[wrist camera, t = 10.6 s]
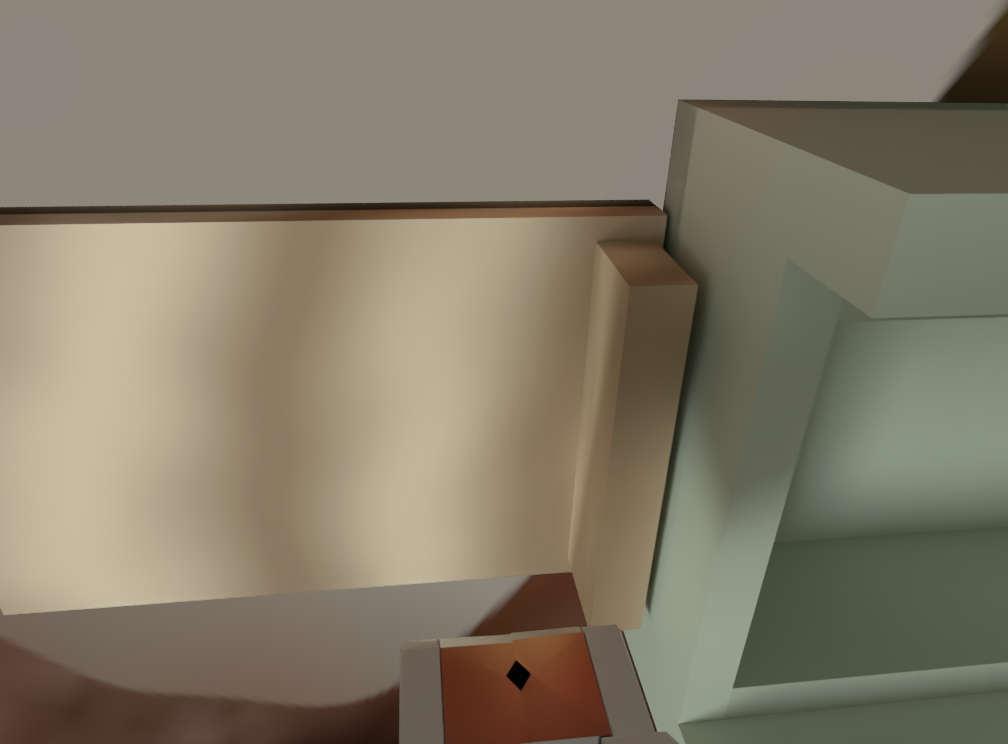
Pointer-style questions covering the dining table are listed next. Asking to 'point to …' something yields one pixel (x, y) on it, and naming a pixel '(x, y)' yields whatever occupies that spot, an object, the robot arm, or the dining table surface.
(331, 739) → the dining table surface
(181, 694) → the dining table surface
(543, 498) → the cover plate
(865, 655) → the box
